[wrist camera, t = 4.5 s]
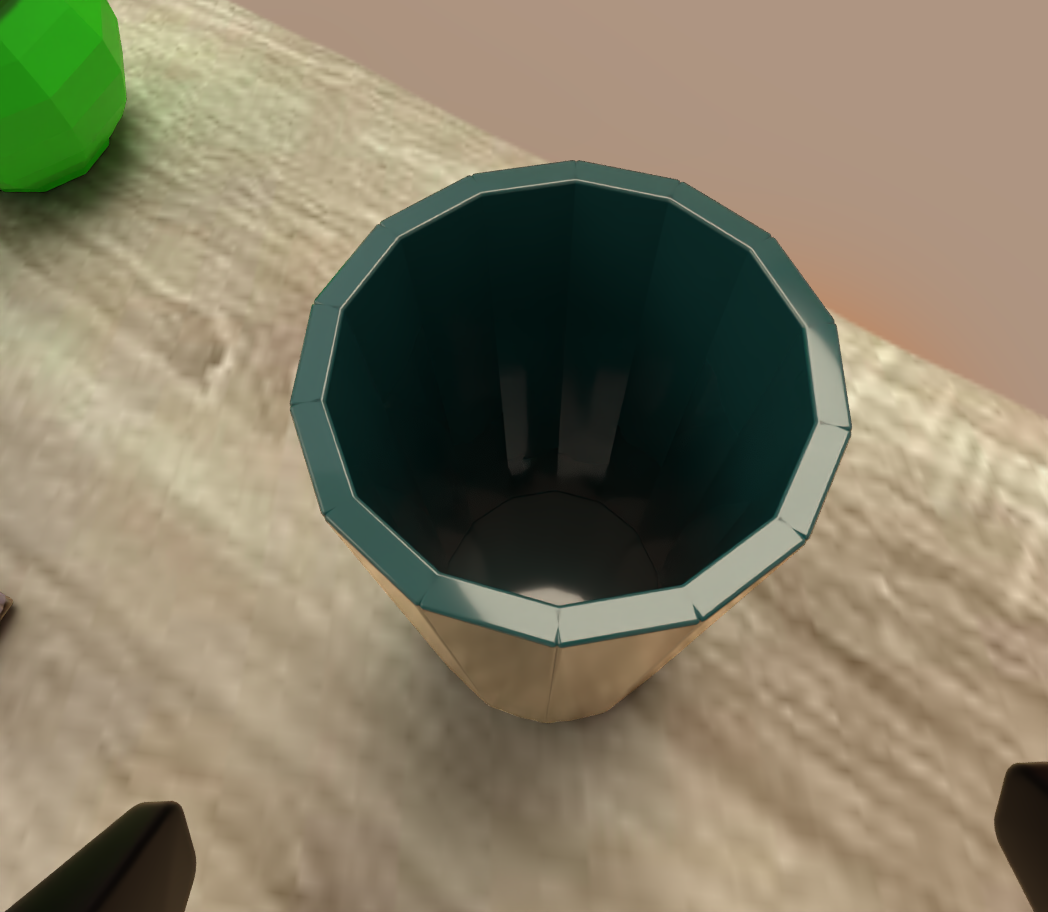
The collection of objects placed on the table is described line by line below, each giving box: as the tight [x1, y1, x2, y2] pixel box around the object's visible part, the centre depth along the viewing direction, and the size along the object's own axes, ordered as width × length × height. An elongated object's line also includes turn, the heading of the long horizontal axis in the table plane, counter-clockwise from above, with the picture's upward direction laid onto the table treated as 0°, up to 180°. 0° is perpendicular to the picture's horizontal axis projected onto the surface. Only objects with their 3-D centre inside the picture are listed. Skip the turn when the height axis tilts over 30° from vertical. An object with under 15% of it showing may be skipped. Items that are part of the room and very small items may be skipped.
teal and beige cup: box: [290, 160, 852, 723], centre depth 14 cm, size 7×7×12 cm
